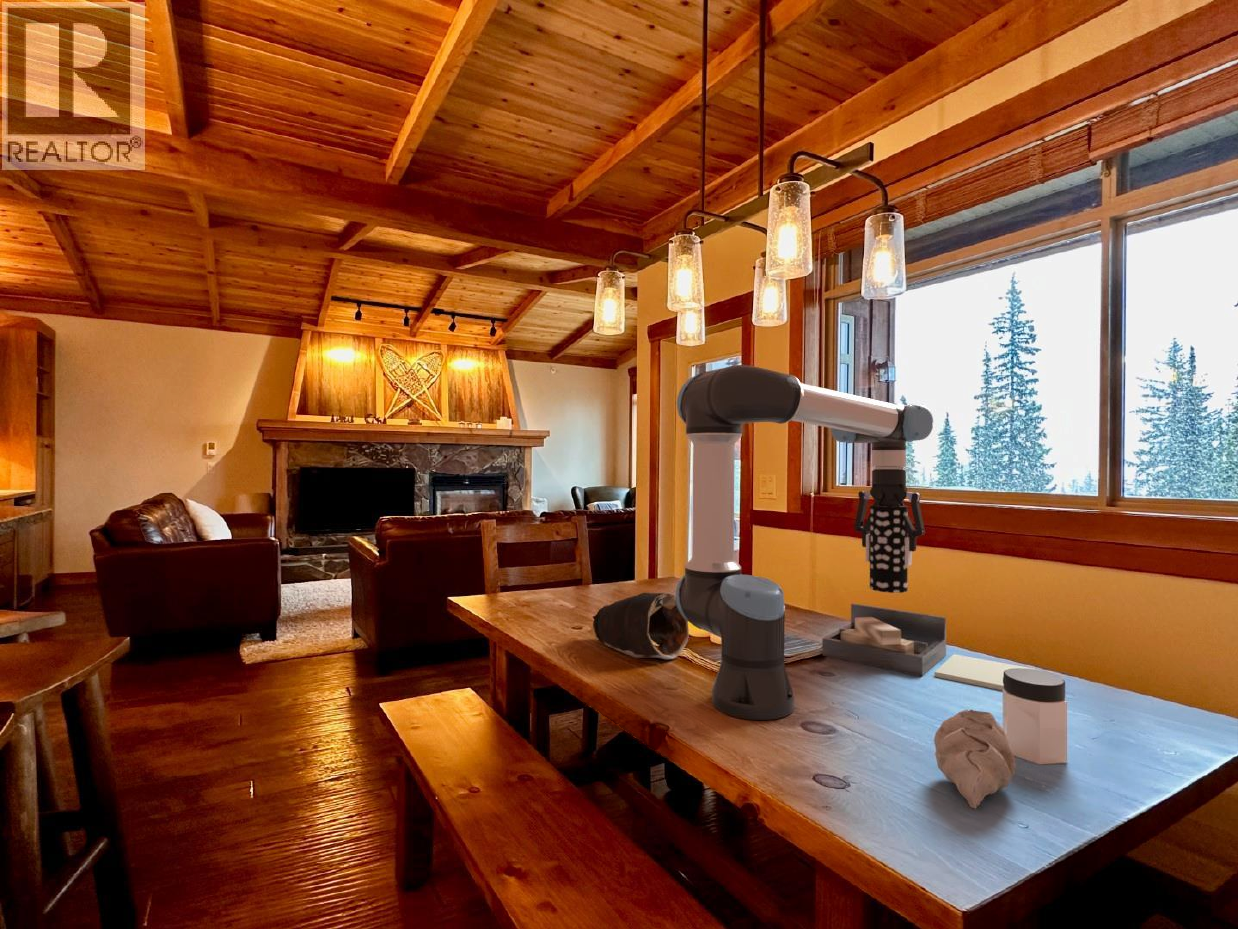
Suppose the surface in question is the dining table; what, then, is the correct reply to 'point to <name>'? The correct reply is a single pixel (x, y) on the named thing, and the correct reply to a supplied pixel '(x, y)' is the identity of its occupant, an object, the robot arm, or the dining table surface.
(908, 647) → the offcut middle
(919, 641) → the tray
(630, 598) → the clay pot
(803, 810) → the dining table surface
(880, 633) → the offcut top
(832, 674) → the dining table surface
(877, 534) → the spotted tube
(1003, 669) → the mat
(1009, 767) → the seashell
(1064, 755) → the jar
